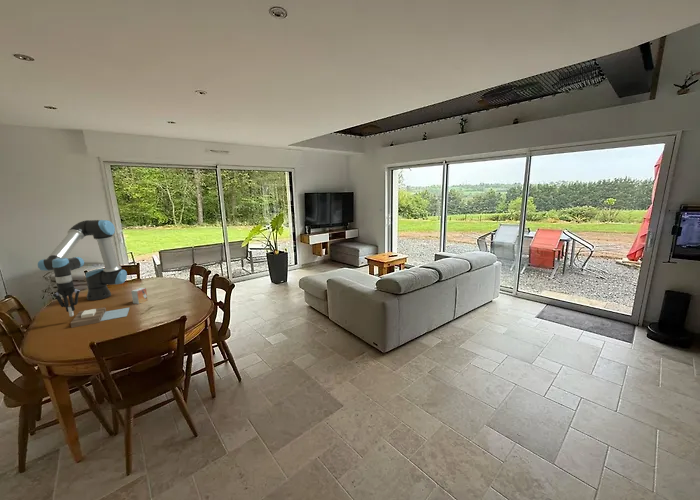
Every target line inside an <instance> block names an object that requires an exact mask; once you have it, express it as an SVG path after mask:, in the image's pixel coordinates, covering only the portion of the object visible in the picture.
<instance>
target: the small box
mask: <svg viewBox="0 0 700 500" xmlns="http://www.w3.org/2000/svg"><path fill="white" fill-rule="evenodd" d="M130 294H131V297H132V298H131V299H132V304H136V305H139V304H141V303H142V304H143V303H144V302H147V301H148V300H149V299H148V293H147V288H146V287H139V288H135V289H133V290H131V293H130Z"/></svg>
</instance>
